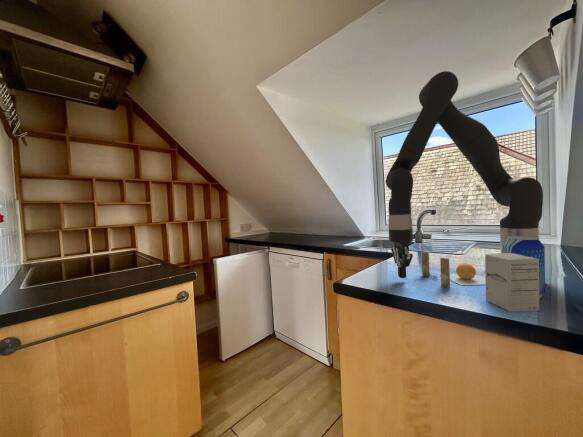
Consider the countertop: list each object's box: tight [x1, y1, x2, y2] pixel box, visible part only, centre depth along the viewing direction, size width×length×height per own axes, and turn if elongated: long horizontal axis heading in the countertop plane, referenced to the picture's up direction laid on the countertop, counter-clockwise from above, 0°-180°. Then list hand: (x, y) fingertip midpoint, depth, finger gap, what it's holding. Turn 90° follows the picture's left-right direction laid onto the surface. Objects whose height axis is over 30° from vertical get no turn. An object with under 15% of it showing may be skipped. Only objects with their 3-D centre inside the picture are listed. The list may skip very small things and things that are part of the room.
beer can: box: [502, 236, 546, 299], centre depth 67 cm, size 8×8×16 cm
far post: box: [420, 250, 431, 278], centre depth 89 cm, size 2×2×9 cm
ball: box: [455, 262, 477, 280], centre depth 82 cm, size 6×6×6 cm
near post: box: [439, 257, 451, 289], centre depth 76 cm, size 2×2×9 cm
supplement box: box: [484, 253, 540, 313], centre depth 60 cm, size 7×7×13 cm
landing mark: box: [439, 273, 486, 287], centre depth 82 cm, size 12×12×1 cm
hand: (402, 277), depth 83 cm, fingers closed
